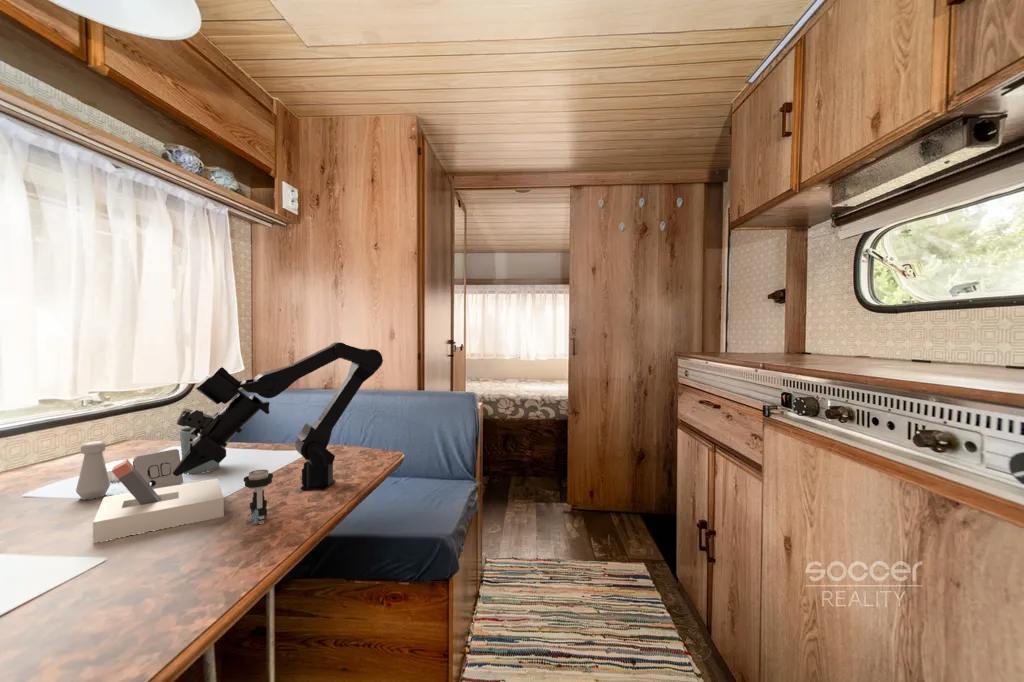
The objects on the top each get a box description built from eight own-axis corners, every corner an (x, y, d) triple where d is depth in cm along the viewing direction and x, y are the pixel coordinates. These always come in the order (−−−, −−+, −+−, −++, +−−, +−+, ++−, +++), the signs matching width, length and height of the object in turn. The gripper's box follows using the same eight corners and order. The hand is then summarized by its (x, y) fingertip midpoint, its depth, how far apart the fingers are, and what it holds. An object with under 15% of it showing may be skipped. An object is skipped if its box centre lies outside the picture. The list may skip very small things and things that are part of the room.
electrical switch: (139, 496, 103) (137, 457, 104) (129, 494, 106) (128, 456, 106) (184, 484, 111) (182, 448, 112) (174, 483, 114) (172, 448, 114)
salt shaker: (114, 494, 104) (114, 441, 104) (83, 503, 99) (83, 446, 98) (102, 491, 106) (102, 438, 106) (71, 499, 101) (71, 443, 101)
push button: (276, 522, 88) (276, 474, 88) (246, 529, 85) (246, 479, 85) (270, 512, 94) (270, 466, 94) (241, 518, 90) (242, 471, 90)
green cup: (175, 476, 118) (175, 433, 118) (183, 466, 127) (183, 426, 127) (220, 471, 122) (220, 429, 122) (224, 462, 131) (224, 423, 131)
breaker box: (217, 495, 104) (217, 478, 104) (223, 516, 91) (223, 497, 91) (103, 515, 92) (103, 497, 91) (93, 544, 79) (93, 522, 79)
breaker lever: (161, 498, 93) (127, 459, 89) (160, 504, 90) (125, 463, 86) (148, 506, 91) (113, 466, 88) (147, 512, 88) (111, 471, 85)
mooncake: (85, 480, 115) (86, 466, 115) (136, 467, 127) (136, 455, 127) (117, 484, 112) (117, 470, 112) (165, 471, 123) (165, 458, 123)
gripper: (201, 390, 103) (141, 444, 96) (205, 399, 88) (135, 463, 82) (240, 419, 108) (186, 472, 101) (251, 432, 93) (188, 494, 87)
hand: (174, 474), depth 93 cm, fingers closed
